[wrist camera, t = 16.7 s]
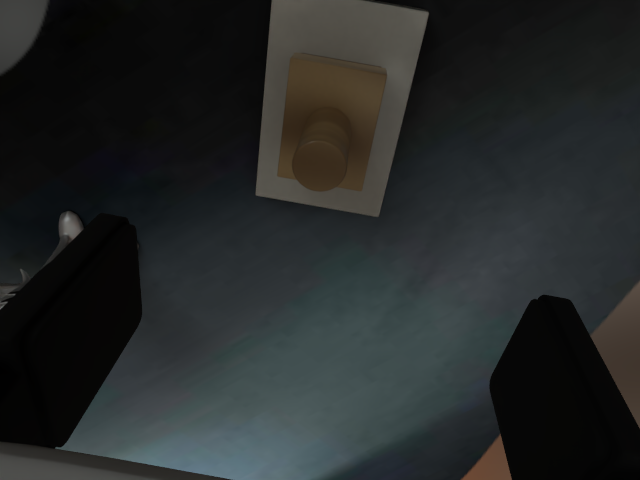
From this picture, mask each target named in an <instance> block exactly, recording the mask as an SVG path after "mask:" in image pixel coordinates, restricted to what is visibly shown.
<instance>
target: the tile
mask: <svg viewBox="0 0 640 480" xmlns="http://www.w3.org/2000/svg"><path fill="white" fill-rule="evenodd" d="M428 16H429V12H428V11H427V10H425V9H420V8H414V7H408V6H403V5H397V4H391V3H386V2H380V1H374V0H272V3H271V14H270V26H269V38H268V50H267V62H266V74H265V86H264V98H263V110H262V122H261V134H260V146H259V158H258V170H257V182H256V196H262V197H267V198H273V199H279V200H284V201H290V202H296V203H301V204H307V205H312V206H318V207H324V208H329V209H335V210H341V211H346V212H352V213H358V214H363V215H369V216H374V217H379V214H380V210H381V206H382V202H383V198H384V194H385V190H386V186H387V182H388V178H389V174H390V170H391V166H392V162H393V157H394V153H395V149H396V145H397V141H398V137H399V133H400V129H401V125H402V121H403V117H404V113H405V109H406V105H407V101H408V97H409V93H410V89H411V85H412V81H413V77H414V73H415V69H416V65H417V61H418V57H419V53H420V49H421V45H422V41H423V36H424V32H425V28H426V24H427V20H428ZM295 52H297V53H307V54H313V55H319V56H324V57H330V58H335V59H341V60H347V61H352V62H358V63H363V64H369V65H375V66H380V67H381V68H386V70H387V79H386V84H385V88H384V93H383V97H382V102H381V107H380V111H379V116H378V120H377V125H376V129H375V134H374V138H373V143H372V147H371V152H370V157H369V161H368V166H367V170H366V175H365V179H364V184H363V188H362V191H355V190H350V189H344V188H338V187H335V188H333V189H331V190H328V191H323V192H318V191H312V190H309V189H307V188H305V187H304V186H302V185H301V184H300V183H299V182H298V181H297V180H294V179H288V178H282V177H278V176H277V172H278V163H279V154H280V145H281V136H282V127H283V118H284V109H285V100H286V91H287V82H288V73H289V63H290V58H291V57H292V55H293V54H294V53H295Z"/></svg>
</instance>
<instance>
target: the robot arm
mask: <svg viewBox="0 0 640 480" xmlns="http://www.w3.org/2000/svg"><path fill="white" fill-rule="evenodd" d="M141 317H142V302H141V288H140V275H139V261H138V248H137V235H136V228H135V226H134V225H130V224H129V221H128V219H127V218H126V217H121V216H115V215H110V214H104V213H100V214H99V215H97V216H96V217H95V218H94V219H93V220H92V221H91V222H90V223H89V224H88V225H87V226H86V227H85V228H84V229H83V230H82V231H81V232H80V233H79V234H78V235H77V236H76V237H75V238H74V239H73V240H72V241H71V242H70V243H69V244H68V245H67V246H66V247H65V248H64V249H63V250H62V251H61V252H60V253H59V254H58V255H57V256H56V257H55V258H54V259H53V260H52V261H51V262H50V263H48V264H47V265H45V266H44V267H43V268H42V269H41V270H40V271H39V272H38V273H37V274H36V275H35V276H34V277H33V278H32V279H31V280H30V281H29V282H28V283H27V284H26V285H25V286H24V287H23V288H22V289H21V290H20V291H19V292H18V293H17V294H15V295H14V296H13V297H12V298H11V299H10V300H9V301H8V302H7V303H6V304H5V305H4V306H3V307H2V308H1V309H0V480H231V479H225V478H220V477H214V476H209V475H203V474H197V473H192V472H186V471H181V470H175V469H170V468H164V467H159V466H153V465H148V464H142V463H136V462H131V461H125V460H120V459H114V458H108V457H102V456H96V455H90V454H84V453H78V452H72V451H65V450H59V449H55V447H62V446H63V445H64V444H65V443H66V442H67V441H68V439H69V438H70V436H71V434H72V433H73V431H74V429H75V428H76V426H77V425H78V423H79V421H80V420H81V418H82V416H83V415H84V413H85V412H86V410H87V408H88V407H89V405H90V403H91V402H92V400H93V399H94V397H95V395H96V394H97V392H98V390H99V389H100V387H101V386H102V384H103V382H104V381H105V379H106V377H107V376H108V374H109V373H110V371H111V369H112V368H113V366H114V364H115V363H116V361H117V360H118V358H119V356H120V355H121V353H122V351H123V350H124V348H125V347H126V345H127V343H128V342H129V340H130V338H131V337H132V335H133V334H134V332H135V330H136V329H137V327H138V325H139V323H140V320H141ZM490 393H491V397H492V401H493V405H494V409H495V413H496V417H497V421H498V425H499V429H500V433H501V437H502V441H503V445H504V449H505V453H506V457H507V461H508V465H509V470H510V473H511V477H512V480H640V428H639V427H638V425H637V423H636V421H635V419H634V417H633V415H632V413H631V412H630V410H629V408H628V406H627V404H626V402H625V400H624V399H623V397H622V395H621V393H620V391H619V389H618V388H617V385H616V384H615V382H614V380H613V378H612V376H611V374H610V373H609V370H608V369H607V367H606V365H605V363H604V361H603V359H602V357H601V356H600V354H599V352H598V350H597V348H596V346H595V344H594V342H593V341H592V339H591V337H590V335H589V333H588V331H587V329H586V327H585V326H584V324H583V322H582V320H581V318H580V316H579V314H578V313H577V311H576V309H575V307H574V305H573V303H572V302H571V301H570V300H569V299H565V298H560V297H554V296H549V295H541V296H540V297H539V298H538V300H536V299H533V300H531V301H530V303H529V305H528V306H527V308H526V310H525V312H524V314H523V316H522V318H521V320H520V322H519V324H518V326H517V328H516V329H515V331H514V333H513V335H512V337H511V339H510V341H509V343H508V345H507V347H506V349H505V350H504V352H503V354H502V356H501V358H500V360H499V362H498V364H497V366H496V368H495V370H494V372H493V373H492V376H491V379H490Z"/></svg>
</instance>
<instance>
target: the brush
mask: <svg viewBox="0 0 640 480" xmlns="http://www.w3.org/2000/svg"><path fill="white" fill-rule="evenodd" d="M386 79H387V70H386V68H381V67H380V66H375V65H369V64H363V63H358V62H352V61H347V60H341V59H335V58H330V57H324V56H319V55H313V54H307V53H297V52H295V53H294V54H293V55H292V57H291V58H290V63H289V73H288V82H287V91H286V100H285V109H284V118H283V127H282V136H281V145H280V154H279V163H278V172H277V176H278V177H282V178H288V179H294V180H297V181H298V182H299V183H300V184H301V185H302V186H304V187H305V188H307V189H309V190H312V191H318V192H323V191H328V190H331V189H333V188H335V187H338V188H344V189H350V190H355V191H362V188H363V184H364V179H365V175H366V170H367V166H368V161H369V157H370V152H371V147H372V143H373V138H374V134H375V129H376V125H377V120H378V116H379V111H380V107H381V102H382V97H383V93H384V88H385V84H386Z"/></svg>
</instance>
